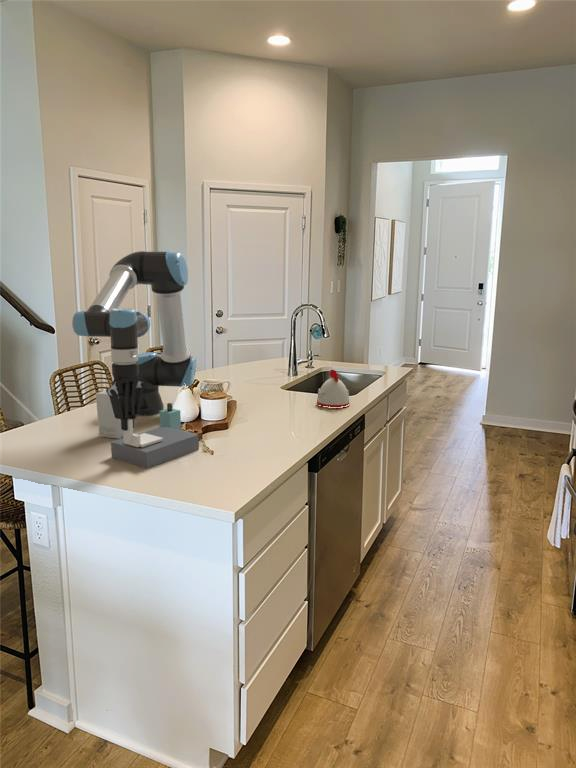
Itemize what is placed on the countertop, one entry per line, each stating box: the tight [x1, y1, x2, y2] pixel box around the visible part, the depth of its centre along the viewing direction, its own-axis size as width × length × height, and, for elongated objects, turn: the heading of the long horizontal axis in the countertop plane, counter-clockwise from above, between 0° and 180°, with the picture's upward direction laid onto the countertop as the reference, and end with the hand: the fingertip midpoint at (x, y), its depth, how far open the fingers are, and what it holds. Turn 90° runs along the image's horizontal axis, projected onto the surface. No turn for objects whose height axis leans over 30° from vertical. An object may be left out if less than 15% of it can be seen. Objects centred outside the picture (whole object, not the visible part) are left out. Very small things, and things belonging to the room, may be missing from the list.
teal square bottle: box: [159, 402, 182, 430], centre depth 203 cm, size 5×5×12 cm
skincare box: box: [95, 389, 123, 440], centre depth 201 cm, size 8×7×16 cm
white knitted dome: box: [316, 369, 350, 407], centre depth 249 cm, size 14×14×15 cm
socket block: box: [110, 426, 200, 469], centre depth 185 cm, size 16×22×5 cm
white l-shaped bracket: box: [124, 433, 163, 447], centre depth 180 cm, size 8×9×3 cm
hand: (128, 439), depth 175 cm, fingers closed
